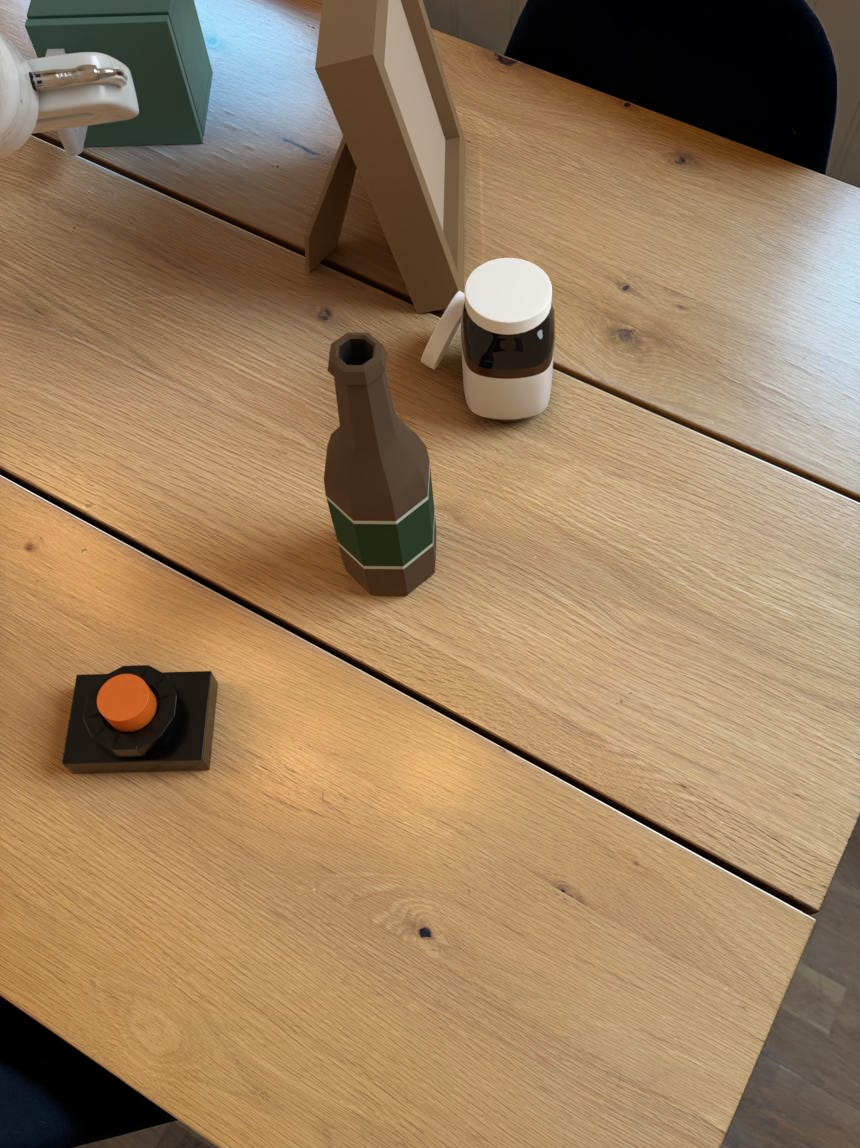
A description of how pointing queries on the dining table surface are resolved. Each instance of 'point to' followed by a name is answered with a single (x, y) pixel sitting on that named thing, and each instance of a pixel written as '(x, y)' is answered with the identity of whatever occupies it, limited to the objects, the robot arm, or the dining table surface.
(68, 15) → the minifridge
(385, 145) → the photo frame
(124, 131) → the fridge door
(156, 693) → the button panel
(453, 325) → the spread jar
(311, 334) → the dining table surface
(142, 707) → the orange button
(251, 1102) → the dining table surface
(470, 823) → the dining table surface
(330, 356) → the beer bottle
